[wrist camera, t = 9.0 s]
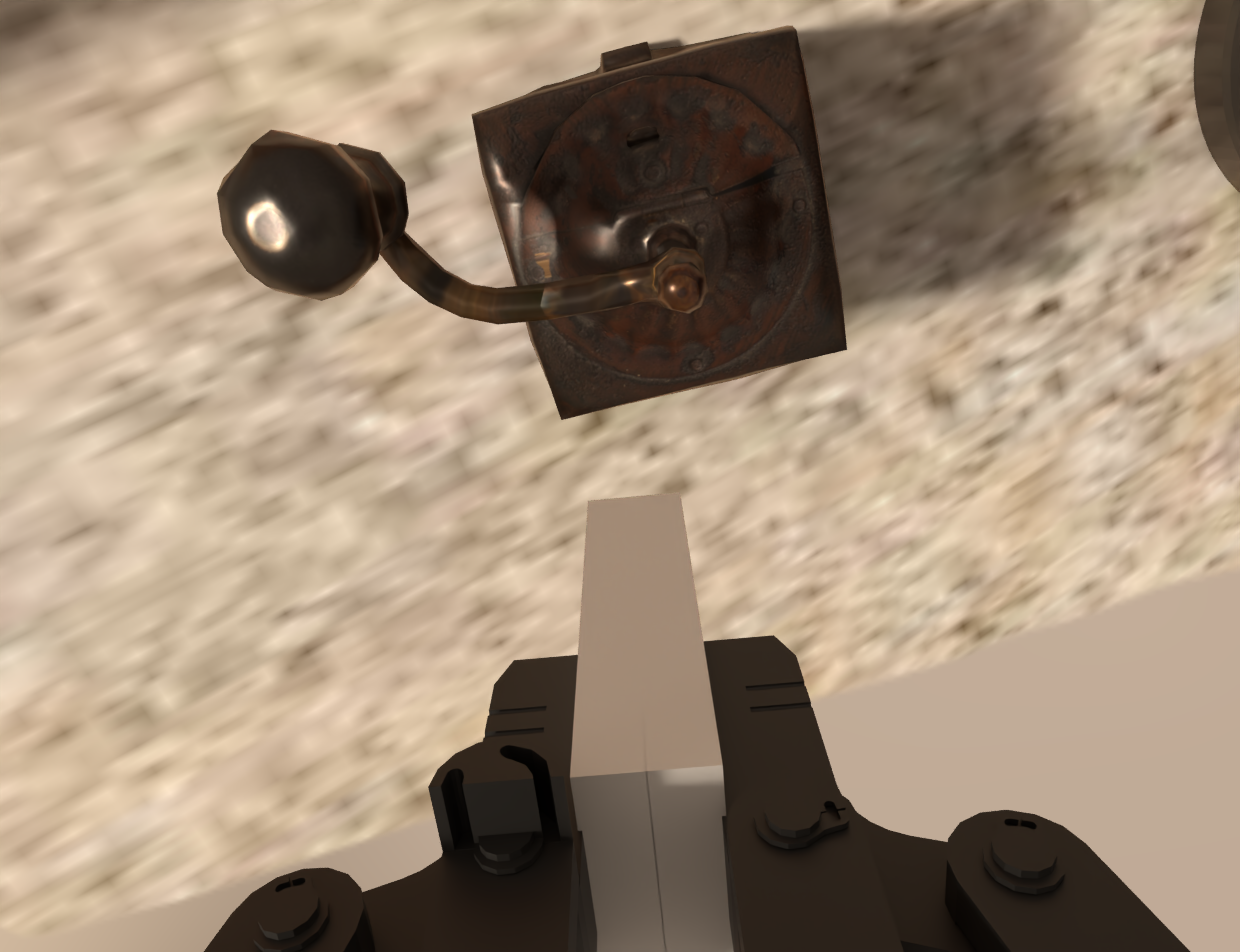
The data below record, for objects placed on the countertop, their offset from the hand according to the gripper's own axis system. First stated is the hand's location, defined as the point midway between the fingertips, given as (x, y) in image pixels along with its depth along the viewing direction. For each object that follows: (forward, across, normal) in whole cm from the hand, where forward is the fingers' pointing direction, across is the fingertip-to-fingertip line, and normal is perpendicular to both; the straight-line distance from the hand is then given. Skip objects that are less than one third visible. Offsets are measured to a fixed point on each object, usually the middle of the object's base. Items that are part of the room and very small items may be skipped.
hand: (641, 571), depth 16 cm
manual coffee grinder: (+26, -1, +3) cm, 26 cm away
